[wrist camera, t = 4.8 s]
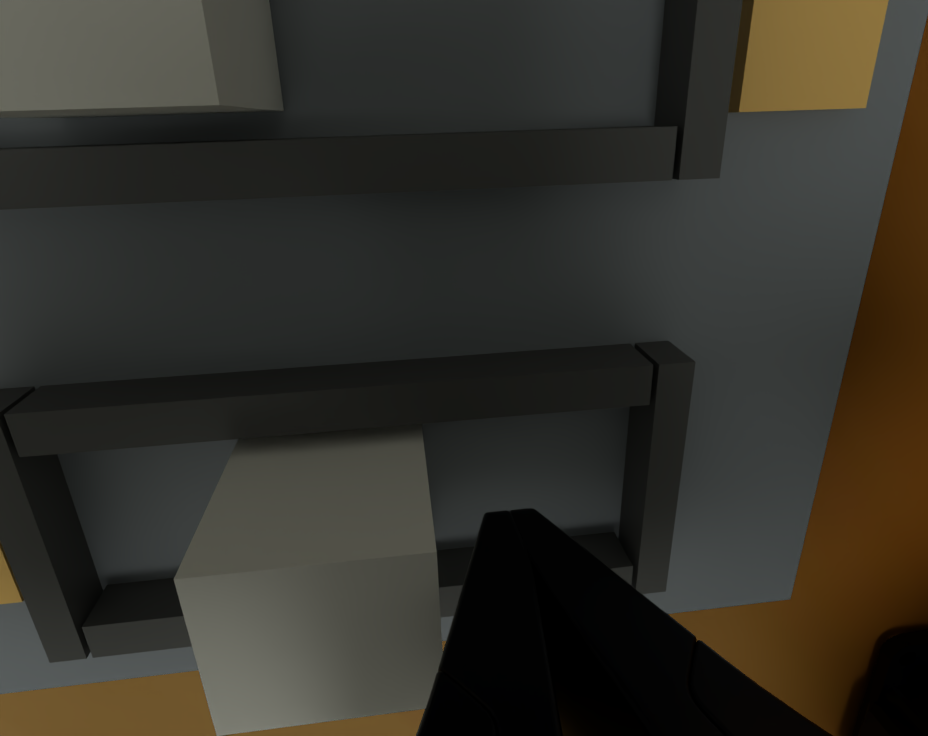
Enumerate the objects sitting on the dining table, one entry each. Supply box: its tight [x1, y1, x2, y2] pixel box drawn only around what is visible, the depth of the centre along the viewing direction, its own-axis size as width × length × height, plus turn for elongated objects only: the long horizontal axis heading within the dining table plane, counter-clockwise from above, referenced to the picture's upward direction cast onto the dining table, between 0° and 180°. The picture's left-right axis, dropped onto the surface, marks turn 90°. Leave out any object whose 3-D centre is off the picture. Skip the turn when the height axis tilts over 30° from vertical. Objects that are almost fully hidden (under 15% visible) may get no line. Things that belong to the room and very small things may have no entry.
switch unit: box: [0, 0, 928, 694], centre depth 8 cm, size 18×23×3 cm
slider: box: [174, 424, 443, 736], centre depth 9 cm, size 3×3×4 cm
